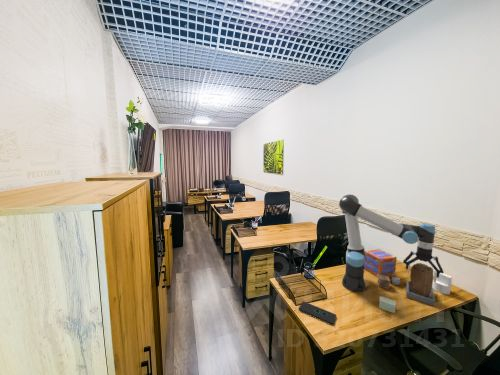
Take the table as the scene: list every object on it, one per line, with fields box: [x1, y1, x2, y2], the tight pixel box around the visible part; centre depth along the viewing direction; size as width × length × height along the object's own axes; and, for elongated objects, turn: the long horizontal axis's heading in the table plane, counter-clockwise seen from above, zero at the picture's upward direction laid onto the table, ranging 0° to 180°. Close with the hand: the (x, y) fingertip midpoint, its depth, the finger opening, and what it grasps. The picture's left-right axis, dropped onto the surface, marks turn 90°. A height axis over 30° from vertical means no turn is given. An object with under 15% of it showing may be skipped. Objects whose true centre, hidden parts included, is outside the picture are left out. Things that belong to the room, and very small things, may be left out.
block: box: [409, 262, 434, 297], centre depth 133 cm, size 11×8×20 cm
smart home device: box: [298, 300, 337, 326], centre depth 117 cm, size 8×2×20 cm
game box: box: [364, 248, 397, 278], centre depth 161 cm, size 16×16×16 cm
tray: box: [405, 279, 436, 307], centre depth 134 cm, size 14×17×4 cm
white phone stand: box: [432, 270, 453, 295], centre depth 138 cm, size 9×9×12 cm
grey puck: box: [391, 276, 401, 286], centre depth 146 cm, size 5×5×4 cm
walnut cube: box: [377, 275, 391, 290], centre depth 144 cm, size 6×6×6 cm
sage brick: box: [378, 295, 397, 314], centre depth 121 cm, size 8×5×5 cm, turn 54°
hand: (420, 277), depth 133 cm, fingers open, 13 cm apart
